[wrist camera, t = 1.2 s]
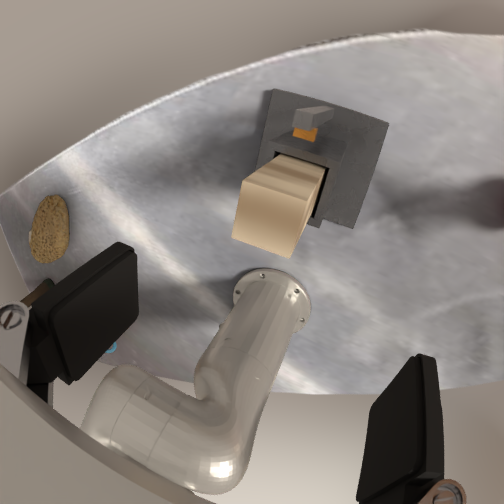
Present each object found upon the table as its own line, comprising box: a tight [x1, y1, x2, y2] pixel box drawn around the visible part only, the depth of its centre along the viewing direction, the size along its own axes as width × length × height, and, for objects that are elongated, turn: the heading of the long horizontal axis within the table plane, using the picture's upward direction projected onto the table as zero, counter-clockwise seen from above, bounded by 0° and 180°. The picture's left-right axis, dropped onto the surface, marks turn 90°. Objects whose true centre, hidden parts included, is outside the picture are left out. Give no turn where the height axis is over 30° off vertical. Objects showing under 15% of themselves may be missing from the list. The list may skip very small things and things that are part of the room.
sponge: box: [29, 195, 69, 263], centre depth 58 cm, size 13×8×20 cm
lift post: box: [231, 153, 330, 258], centre depth 27 cm, size 4×4×20 cm
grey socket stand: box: [255, 89, 389, 229], centre depth 30 cm, size 14×14×18 cm
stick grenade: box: [20, 279, 54, 307], centre depth 61 cm, size 8×9×30 cm
